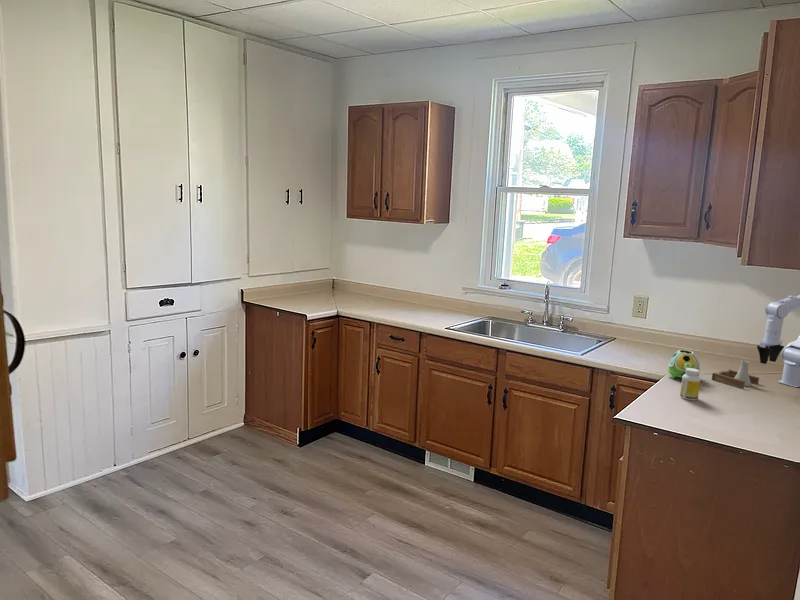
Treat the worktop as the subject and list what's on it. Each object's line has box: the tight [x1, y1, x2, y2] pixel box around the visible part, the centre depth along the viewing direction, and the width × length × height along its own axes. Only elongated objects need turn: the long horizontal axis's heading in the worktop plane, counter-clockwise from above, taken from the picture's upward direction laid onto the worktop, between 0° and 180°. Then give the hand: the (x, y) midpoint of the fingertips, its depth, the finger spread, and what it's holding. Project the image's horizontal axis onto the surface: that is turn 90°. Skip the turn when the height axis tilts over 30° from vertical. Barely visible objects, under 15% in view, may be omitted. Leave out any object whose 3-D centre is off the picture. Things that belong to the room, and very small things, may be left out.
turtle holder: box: [667, 349, 701, 380], centre depth 255 cm, size 12×18×12 cm
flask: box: [735, 360, 752, 387], centre depth 252 cm, size 7×7×10 cm
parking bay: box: [711, 368, 760, 390], centre depth 255 cm, size 13×13×3 cm
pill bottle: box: [679, 368, 701, 401], centre depth 231 cm, size 6×6×12 cm
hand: (767, 362), depth 250 cm, fingers open, 7 cm apart
